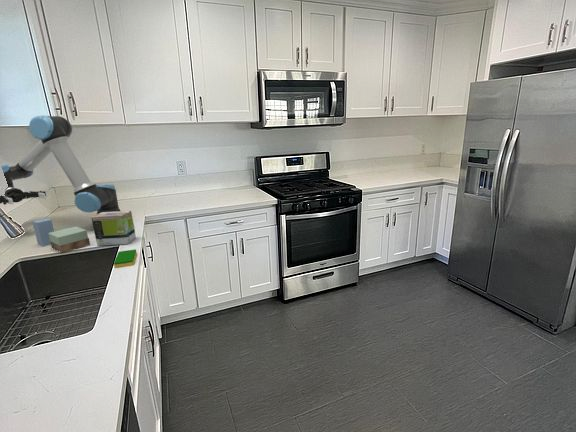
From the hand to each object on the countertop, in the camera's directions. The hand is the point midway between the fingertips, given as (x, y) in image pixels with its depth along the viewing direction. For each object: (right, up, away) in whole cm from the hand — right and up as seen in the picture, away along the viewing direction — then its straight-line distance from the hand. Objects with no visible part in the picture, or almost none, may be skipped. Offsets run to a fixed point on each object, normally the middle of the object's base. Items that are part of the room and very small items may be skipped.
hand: (28, 198), depth 158 cm
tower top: (+24, -20, -5) cm, 32 cm away
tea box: (+44, -22, 0) cm, 49 cm away
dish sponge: (+60, -28, -23) cm, 70 cm away
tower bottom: (+24, -24, -4) cm, 34 cm away
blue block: (+9, -22, +1) cm, 24 cm away
